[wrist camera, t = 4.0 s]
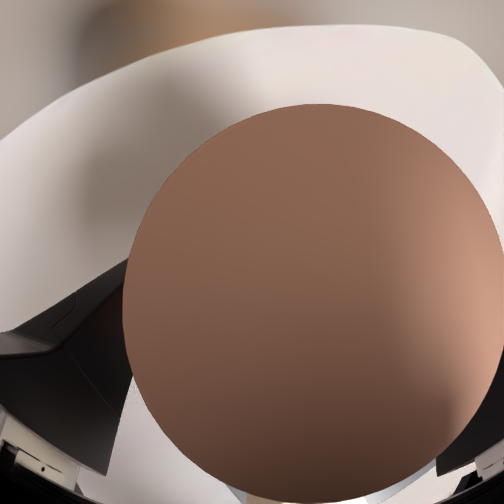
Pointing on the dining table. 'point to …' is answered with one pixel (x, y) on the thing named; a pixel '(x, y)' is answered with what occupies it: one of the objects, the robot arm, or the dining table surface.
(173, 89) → the dining table surface
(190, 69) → the dining table surface
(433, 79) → the dining table surface
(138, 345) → the pillar
